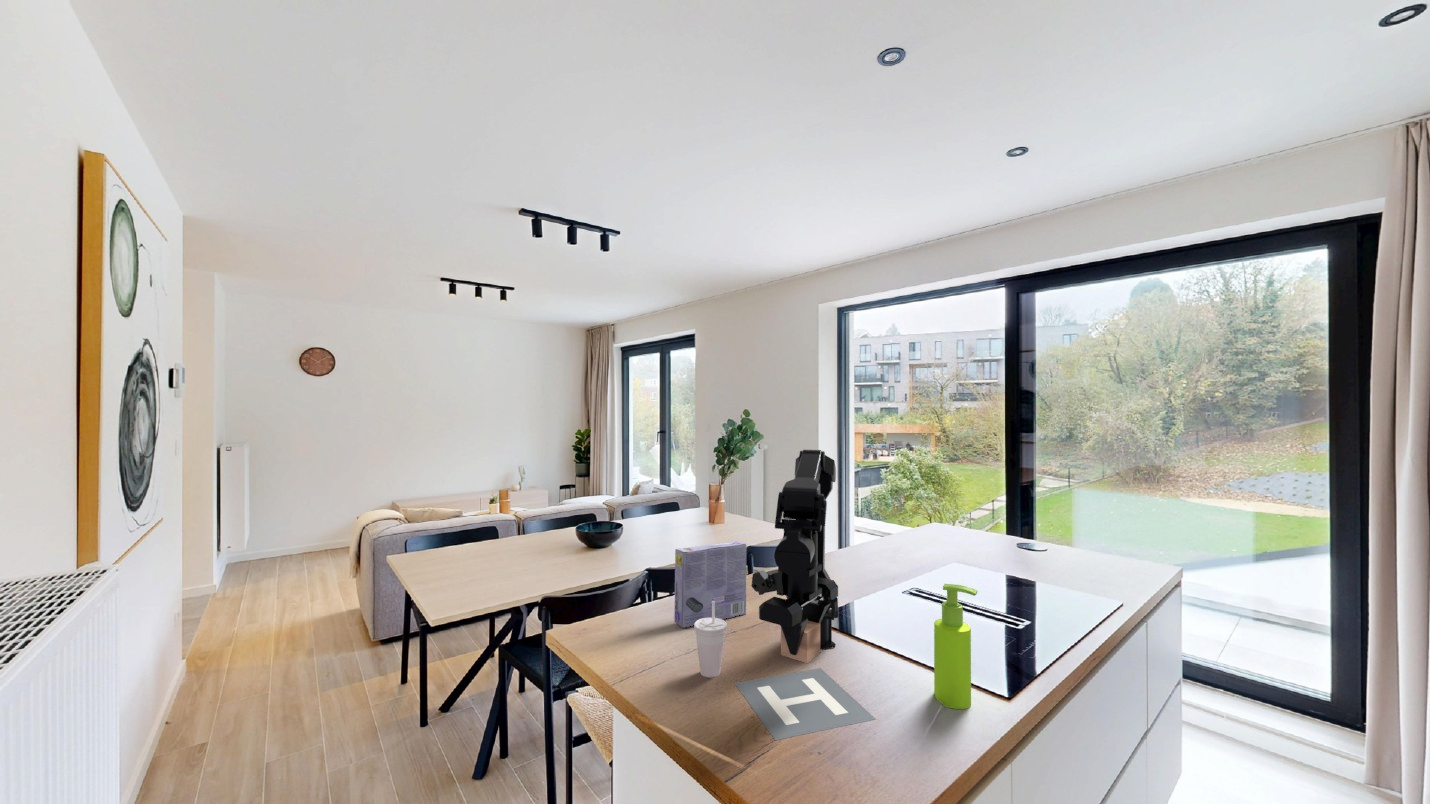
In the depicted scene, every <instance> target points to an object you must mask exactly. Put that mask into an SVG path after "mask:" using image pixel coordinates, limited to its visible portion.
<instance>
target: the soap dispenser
mask: <svg viewBox="0 0 1430 804" xmlns="http://www.w3.org/2000/svg"><path fill="white" fill-rule="evenodd" d="M942 590H944V591H946V600H945V601H943V602H942V603H941V618H938V619H935V621H934V622H933V627H934V629H933V633H934V634H933V639H934V641H933V643H934V644H933V645H934V646H933V649H934V650H933V651H934V653H933V656H934V658H933V659H934V661H933V666H934V668H933V669H934V680H933V682H934V683H933V684H934V691H933V692H934V698H935V699H936V700H937V701H938V702H940V703H941V706H944V707H946V708H950V709H952V710H953V709H954V710H965V709H969V708H970V707H971V706H972V628H971V626H970V625H969V624H968V623H966V622H964V609H963V608H964V607H963V605H962V604H961V603H959V602H958V598H959V597H958V594H959V593H964V594H968V595H970V596H974V597H975V596H976V595H977V594H978V592H979V591H978V590H976V588H975V589H974V588H973V587H969V586H967V585H966V586H965V585H961V584H954V583H953V584H952V583H944V584H943V586H942Z"/></svg>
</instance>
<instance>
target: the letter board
mask: <svg viewBox="0 0 1430 804" xmlns="http://www.w3.org/2000/svg"><path fill="white" fill-rule="evenodd" d="M733 683H734V685H735V686H736V688H737V689H738V690H739V692H740V693H741V695H742V696H743V698H745V700H746V702H747V703H748V705H749V706H750V707H751V708H752V710H753V711H754V713H755V714H756V715H757V717H758V719H759V720H760V721H761V723H762V724H763V725H764V727H765V728H766V729H767V731H768V733H769V734H770V736H771V737H772V738H773V740H775V741H779V740H784V739H788V738H794V737H798V736H803V735H808V734H811V733H818V732H822V731H827V730H832V729H836V728H837V729H838V728H841V727H842V728H843V727H846V726H851V725H855V724H861V723H865V722H870V721H875V720H877V718H876V717H875V716H873V715H872V714H871V713H870V712H869V711H868V710H867V709H866V708H865V707H864V706H863V705H861V703H859V702H858V701H857V700H856V699H855V698H854V697H853V696H852V695H850V694H849V693H848V692H847V690H845V689H844V688H843V687H842V686H841V685H839V683H837V682H836V681H835V680H834V679H833V678H832V677H831V676H830V674H829V675H828V673H827V672H825V670H823V669H822V668H821V667H819V668H812V669H806V670H801V671H795V672H789V673H784V674H783V673H782V674H777V675H771V676H765V677H759V678H754V679H747V680H742V681H741V680H740V681H736V682H735V681H734V682H733Z"/></svg>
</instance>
